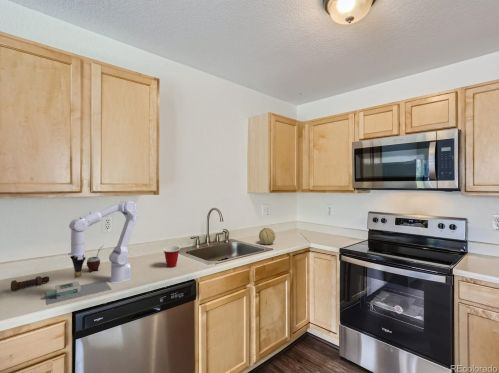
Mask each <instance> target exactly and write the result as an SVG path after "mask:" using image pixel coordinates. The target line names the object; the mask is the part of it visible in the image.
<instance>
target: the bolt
mask: <svg viewBox="0 0 499 373" xmlns="http://www.w3.org/2000/svg"><path fill="white" fill-rule="evenodd" d="M50 278H51V277H49V276H47V275H46V276H39V275H38V276H36V277H35V278H32V279H27V280H24V281H17V280H16V279H15V280H12V281H11V282H10V291H11V292H15V291H16V292H17V291H18V290H20V289H24V288H27V287H32V286H36V287H40V286H42V284H46V283H49V282H50V281H51V280H50Z"/></svg>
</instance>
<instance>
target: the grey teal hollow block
mask: <svg viewBox="0 0 499 373" xmlns="http://www.w3.org/2000/svg"><path fill="white" fill-rule="evenodd" d="M80 285H81V283H80V281H78V280H77V281H72V282H67V283H62V284H57V285H54V286H55V290H51V291H50V290H49V291H46V292H45V293H46V295H47V296H51V295H55V294H56V298H57V299H60V298H64V297H68V296H73V295H77V294H81V286H80Z"/></svg>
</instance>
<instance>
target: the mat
mask: <svg viewBox="0 0 499 373" xmlns="http://www.w3.org/2000/svg"><path fill="white" fill-rule="evenodd" d="M80 286H81V294H77V295H73V296H68V297H64V298H60V299H57V298H56V294H55V295H51V296H47V295H46V292H44V299H45V305H46V306H49V305H51V304H56V303H60V302H65V301H69V300H73V299H78V298H82V297H87V296H90V295H95V294H99V293H102V292H107V291H108V292H109V291H111V290H112V287H110V285H109V284H108V283H107V281H106V280H100V281H95V282H91V283H85V284H80Z"/></svg>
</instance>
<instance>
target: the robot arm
mask: <svg viewBox="0 0 499 373" xmlns="http://www.w3.org/2000/svg"><path fill="white" fill-rule="evenodd" d="M137 210H138V206H137V205H136V203H135V202H134V201H130V200H129V201H127V200H126V201H125V200H120V201H118V202H116V203H114V204H112V205H110V206H108V207H106V208H104V209H101V210H100V211H96V210H95V211H93V210H91V211H89V213H87V214H85V215H81V216H79V218H74V219H72V220H71V221H70V223H69V225H68V227H69V229H71V230H70V231H71V232H70V233H71V234H70V236H71V237H70V252H68V253H67V255H68V256H70V258H71V261H72V264H73V268H74V267H75V272H76V273H77V272H81V270H83V269H82V268H83V266H84V265H83V264H84V262H85V261H86V259H87V258H86V256H85V254H86V229H87V228H88V227H91V226H92V225H94V224H97V223H98V222H100V221H101V219H102V218H104V217H106V216H109V215H111V214H113V213H116V212H120V213H122V214H123V216H124V217H125V222H124V224H123V227H122V230H121V232H120V236H119V239H118V241H117V244H116V246H115V247H114V248H112V249H113V250H112V252H111V253H110V254H109V257H108V260H109V262H110V263H111V264H110V268H111V269H110V274H111V275H110V278H109V279H108V280H109V282H110V283H111V284H118V283H121V282H126V281H131V280H132V278H131V276H132V274H131V270H132V269H131V267H132V266H131V264H130V263H129V262H128V261H129V249H128V246H129V244H130V241H131V237H132V236H133V232H134V228H135V226H136V223H137V219H138V212H137ZM75 257H76V258H75Z"/></svg>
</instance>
